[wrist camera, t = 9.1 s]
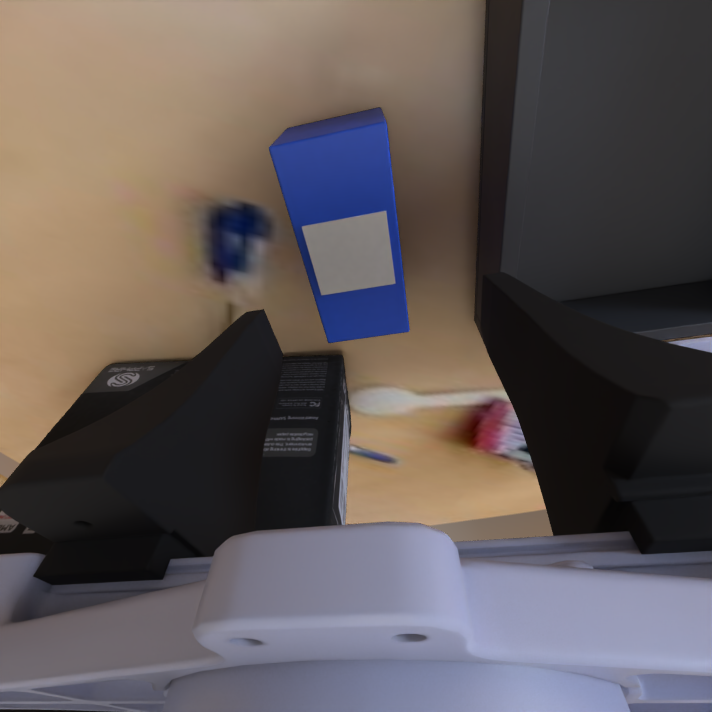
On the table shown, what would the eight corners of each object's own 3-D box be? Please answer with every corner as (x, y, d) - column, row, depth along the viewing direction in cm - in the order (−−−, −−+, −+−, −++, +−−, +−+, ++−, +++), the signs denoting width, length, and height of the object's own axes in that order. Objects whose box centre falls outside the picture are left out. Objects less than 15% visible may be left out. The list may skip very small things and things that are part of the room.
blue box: (402, 291, 21) (410, 333, 18) (332, 302, 21) (328, 345, 18) (381, 106, 15) (386, 121, 12) (285, 128, 15) (266, 147, 12)
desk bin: (717, 285, 20) (779, 325, 17) (474, 320, 22) (491, 362, 19) (1006, -249, 10) (1296, -383, 7) (489, -100, 11) (535, -153, 8)
